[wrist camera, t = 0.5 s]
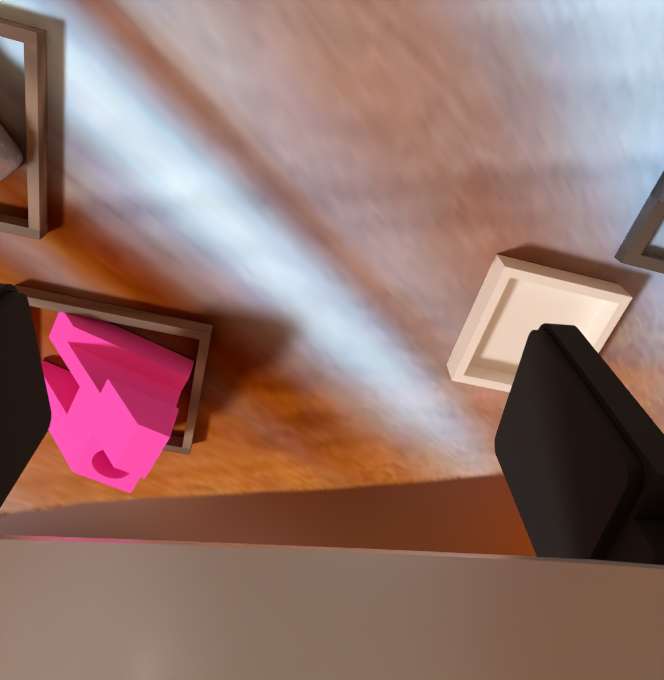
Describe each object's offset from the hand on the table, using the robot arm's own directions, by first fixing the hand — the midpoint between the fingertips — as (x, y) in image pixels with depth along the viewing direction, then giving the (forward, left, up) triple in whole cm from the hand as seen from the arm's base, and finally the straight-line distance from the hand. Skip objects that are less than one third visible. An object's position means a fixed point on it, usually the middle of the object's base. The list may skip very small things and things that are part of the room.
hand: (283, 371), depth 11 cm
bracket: (+28, -12, -34) cm, 46 cm away
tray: (+14, +24, -34) cm, 44 cm away
